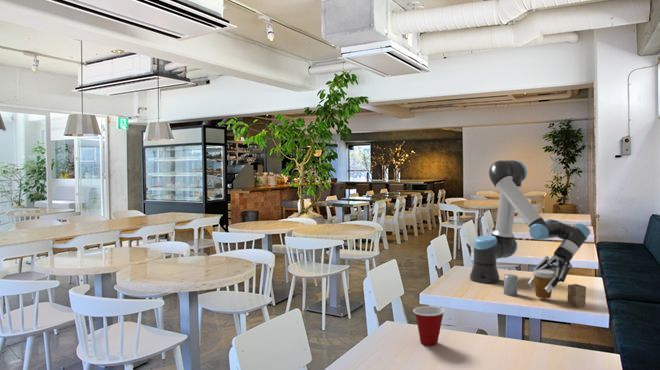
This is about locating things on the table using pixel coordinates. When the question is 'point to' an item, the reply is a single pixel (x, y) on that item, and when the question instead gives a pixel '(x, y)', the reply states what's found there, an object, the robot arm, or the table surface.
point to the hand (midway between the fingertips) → (538, 287)
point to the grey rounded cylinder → (510, 284)
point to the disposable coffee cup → (542, 282)
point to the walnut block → (576, 295)
